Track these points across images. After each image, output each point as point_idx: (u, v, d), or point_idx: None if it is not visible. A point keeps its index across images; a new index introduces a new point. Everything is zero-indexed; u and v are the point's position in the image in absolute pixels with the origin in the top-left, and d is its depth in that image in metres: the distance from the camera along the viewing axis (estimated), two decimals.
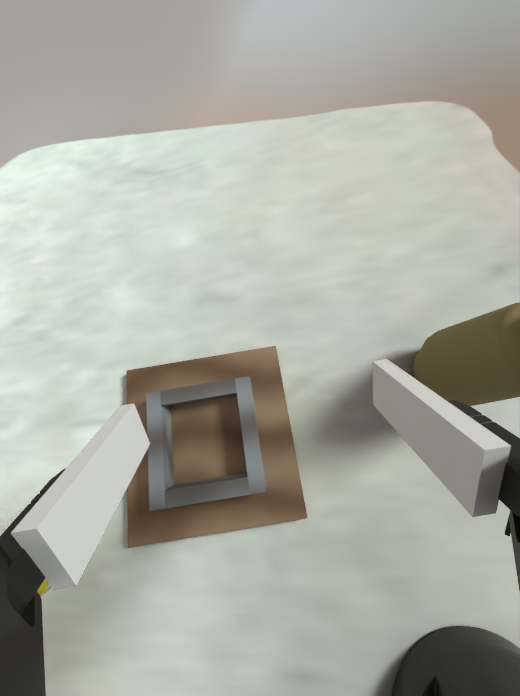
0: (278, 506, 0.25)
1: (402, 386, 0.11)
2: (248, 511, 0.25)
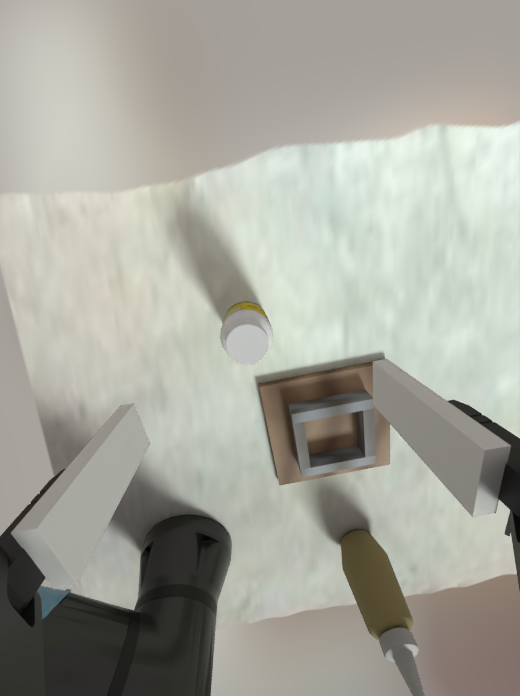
0: (285, 471, 0.39)
1: (402, 386, 0.11)
2: (282, 455, 0.38)
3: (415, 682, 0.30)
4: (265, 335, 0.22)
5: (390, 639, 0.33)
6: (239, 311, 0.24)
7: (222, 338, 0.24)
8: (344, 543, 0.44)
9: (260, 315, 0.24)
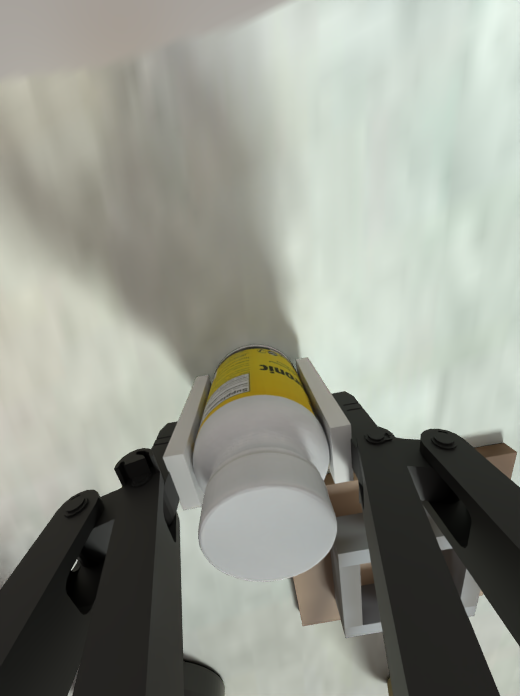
0: (314, 608, 0.23)
1: (305, 380, 0.12)
2: (311, 589, 0.22)
3: None
4: (329, 512, 0.07)
5: None
6: (244, 403, 0.09)
7: (197, 472, 0.09)
8: None
9: (301, 415, 0.09)
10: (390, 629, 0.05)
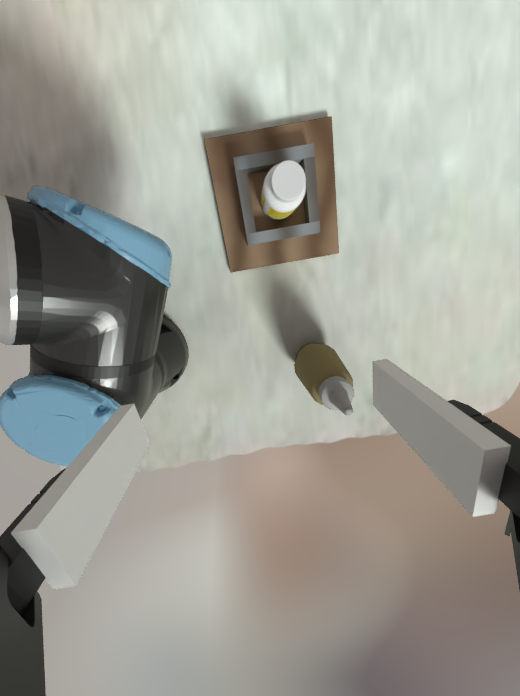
0: (236, 253, 0.40)
1: (402, 386, 0.11)
2: (232, 233, 0.39)
3: (345, 401, 0.31)
4: (303, 172, 0.28)
5: (327, 382, 0.34)
6: (280, 163, 0.30)
7: (265, 186, 0.30)
8: (298, 353, 0.45)
9: None
10: None
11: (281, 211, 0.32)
